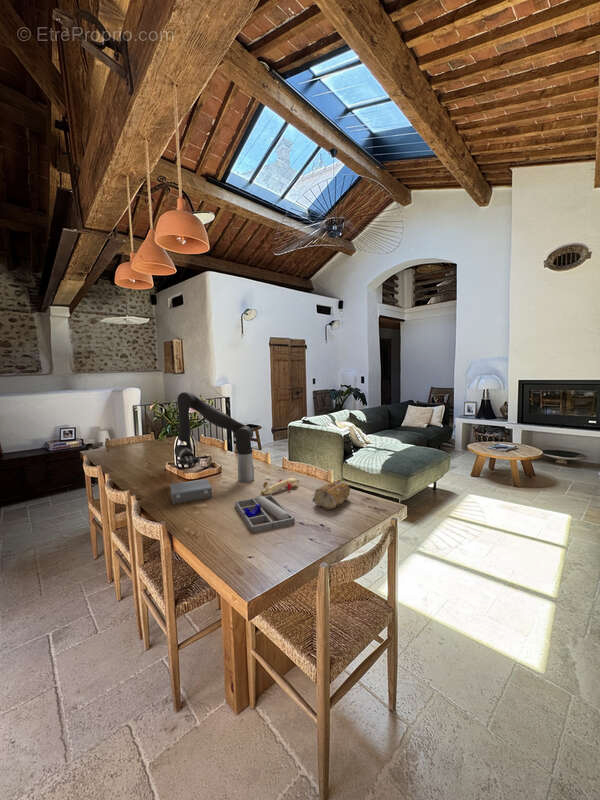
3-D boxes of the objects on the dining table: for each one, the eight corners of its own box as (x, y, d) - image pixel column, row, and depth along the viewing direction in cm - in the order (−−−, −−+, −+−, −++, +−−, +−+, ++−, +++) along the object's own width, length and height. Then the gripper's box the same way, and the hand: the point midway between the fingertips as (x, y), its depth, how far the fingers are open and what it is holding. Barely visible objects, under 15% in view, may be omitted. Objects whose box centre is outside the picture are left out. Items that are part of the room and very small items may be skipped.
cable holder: (248, 519, 157) (248, 511, 157) (244, 517, 160) (244, 509, 159) (262, 514, 163) (262, 506, 162) (258, 511, 165) (258, 504, 165)
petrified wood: (331, 493, 187) (335, 476, 185) (352, 504, 180) (356, 486, 178) (310, 504, 172) (314, 486, 170) (332, 516, 165) (336, 497, 163)
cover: (207, 480, 197) (207, 478, 197) (211, 488, 184) (211, 487, 183) (170, 485, 189) (170, 484, 189) (172, 495, 175) (171, 493, 175)
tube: (293, 513, 156) (266, 495, 176) (283, 512, 153) (257, 494, 173) (290, 524, 155) (263, 506, 176) (280, 524, 152) (254, 505, 173)
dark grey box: (207, 489, 198) (207, 481, 197) (212, 498, 184) (211, 489, 184) (170, 495, 190) (170, 486, 189) (172, 504, 176) (172, 495, 176)
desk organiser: (271, 499, 181) (271, 495, 181) (294, 523, 153) (294, 518, 153) (235, 506, 173) (235, 501, 173) (252, 532, 145) (252, 527, 145)
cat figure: (270, 501, 183) (303, 485, 200) (268, 485, 182) (302, 471, 198) (258, 496, 190) (292, 481, 207) (257, 481, 189) (291, 467, 206)
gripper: (174, 451, 195) (177, 459, 179) (198, 448, 200) (203, 455, 184) (174, 464, 195) (177, 473, 180) (198, 461, 201) (203, 469, 185)
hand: (190, 464), depth 182 cm, fingers closed
